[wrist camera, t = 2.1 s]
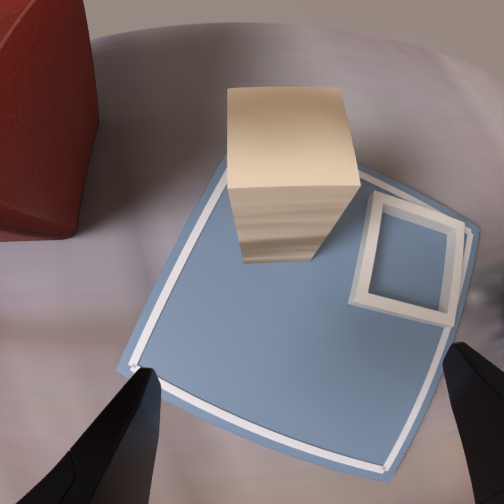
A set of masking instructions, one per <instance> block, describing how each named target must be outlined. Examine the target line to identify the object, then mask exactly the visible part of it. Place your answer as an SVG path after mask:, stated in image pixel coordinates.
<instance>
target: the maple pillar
mask: <svg viewBox="0 0 504 504" xmlns="http://www.w3.org/2000/svg"><path fill="white" fill-rule="evenodd" d="M360 186H361V183H360V178H359V172H358V167H357V162H356V157H355V152H354V147H353V142H352V138H351V133H350V129H349V125H348V120H347V116H346V112H345V108H344V104H343V100H342V96H341V92H340V88H330V87H297V86H276V87H243V88H227V189H228V194H229V198H230V203H231V208H232V212H233V217H234V221H235V226H236V230H237V235H238V239H239V244H240V248H241V253H242V257H243V262H244V264H256V263H280V262H303V261H310V260H311V259H312V257H313V256H314V254H315V253H316V251H317V250H318V249H319V247H320V246H321V244H322V243H323V241H324V240H325V238H326V237H327V236H328V234H329V233H330V231H331V230H332V228H333V227H334V225H335V224H336V222H337V221H338V219H339V218H340V216H341V215H342V213H343V212H344V210H345V209H346V207H347V206H348V204H349V203H350V201H351V200H352V198H353V197H354V195H355V194H356V192H357V191H358V189H359V188H360Z"/></svg>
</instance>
